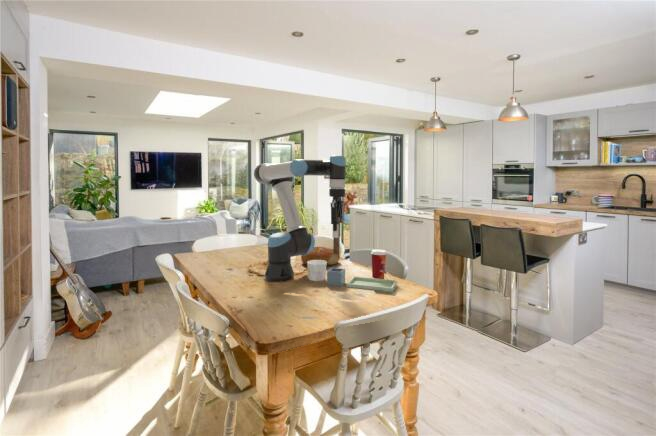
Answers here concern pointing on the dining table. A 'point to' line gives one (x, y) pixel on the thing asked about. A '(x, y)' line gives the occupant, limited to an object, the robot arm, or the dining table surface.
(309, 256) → the bread
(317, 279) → the cup
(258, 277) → the dining table surface
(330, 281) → the pot
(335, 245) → the dowel
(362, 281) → the tray
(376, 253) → the coffee cup
